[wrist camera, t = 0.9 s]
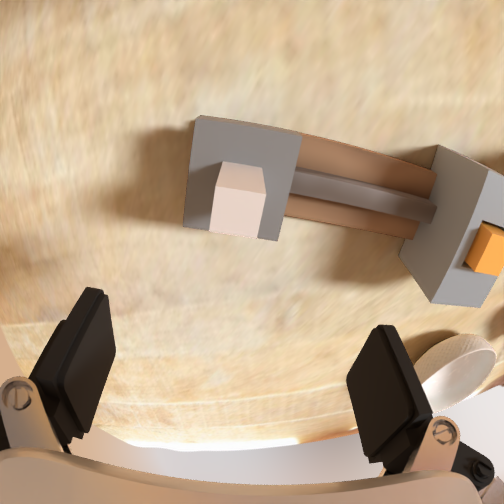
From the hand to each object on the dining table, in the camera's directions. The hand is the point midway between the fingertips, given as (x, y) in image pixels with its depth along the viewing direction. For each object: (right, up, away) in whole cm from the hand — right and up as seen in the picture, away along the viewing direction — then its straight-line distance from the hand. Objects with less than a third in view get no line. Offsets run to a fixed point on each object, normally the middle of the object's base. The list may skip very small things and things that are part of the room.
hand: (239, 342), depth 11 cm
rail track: (+7, +10, +20) cm, 24 cm away
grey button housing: (+23, +8, +22) cm, 33 cm away
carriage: (-1, +11, +18) cm, 21 cm away
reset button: (+23, +5, +16) cm, 28 cm away
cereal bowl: (+32, -14, +35) cm, 50 cm away
